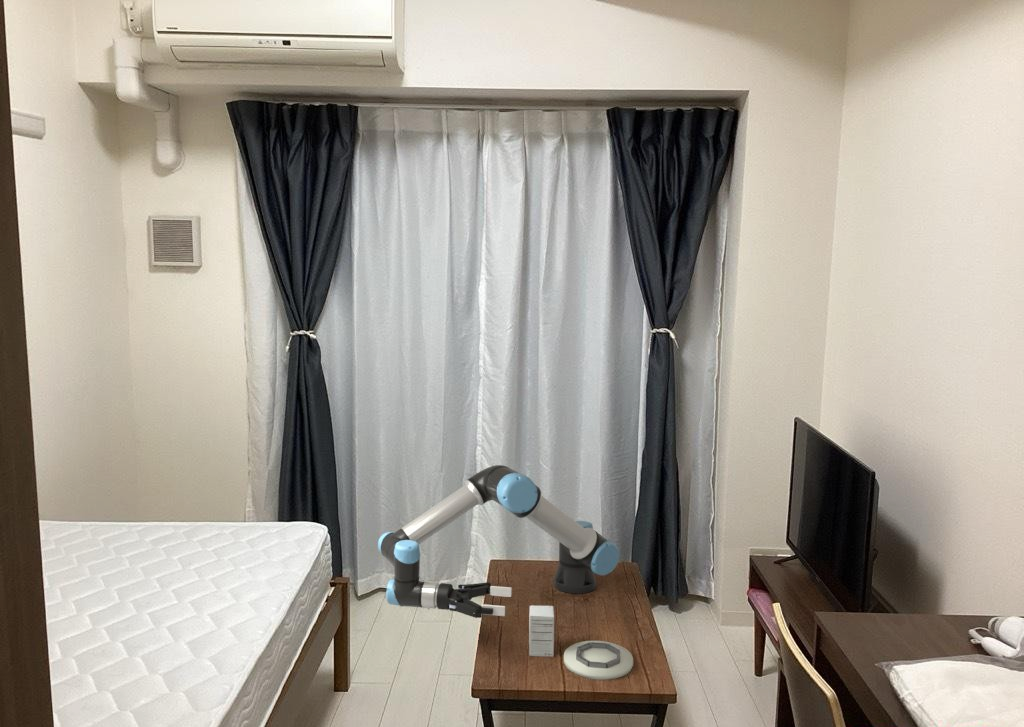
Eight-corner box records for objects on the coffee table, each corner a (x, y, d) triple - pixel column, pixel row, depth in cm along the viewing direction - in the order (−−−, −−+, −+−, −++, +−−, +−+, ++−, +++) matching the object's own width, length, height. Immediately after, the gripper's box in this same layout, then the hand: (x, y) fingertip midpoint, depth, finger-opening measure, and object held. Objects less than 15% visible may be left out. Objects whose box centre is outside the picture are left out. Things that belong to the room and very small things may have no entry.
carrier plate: (566, 642, 242) (566, 638, 242) (632, 648, 240) (632, 643, 239) (561, 676, 223) (561, 671, 222) (633, 682, 220) (633, 677, 220)
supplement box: (528, 644, 241) (529, 604, 240) (553, 645, 241) (554, 605, 239) (528, 656, 234) (529, 615, 232) (553, 657, 234) (554, 616, 232)
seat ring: (577, 645, 238) (577, 641, 238) (620, 648, 236) (620, 644, 236) (575, 666, 226) (575, 662, 225) (620, 669, 224) (620, 665, 224)
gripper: (447, 591, 252) (513, 596, 249) (428, 626, 228) (501, 632, 225) (447, 568, 251) (514, 573, 248) (428, 600, 227) (502, 606, 224)
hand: (508, 601), depth 237 cm, fingers open, 13 cm apart
